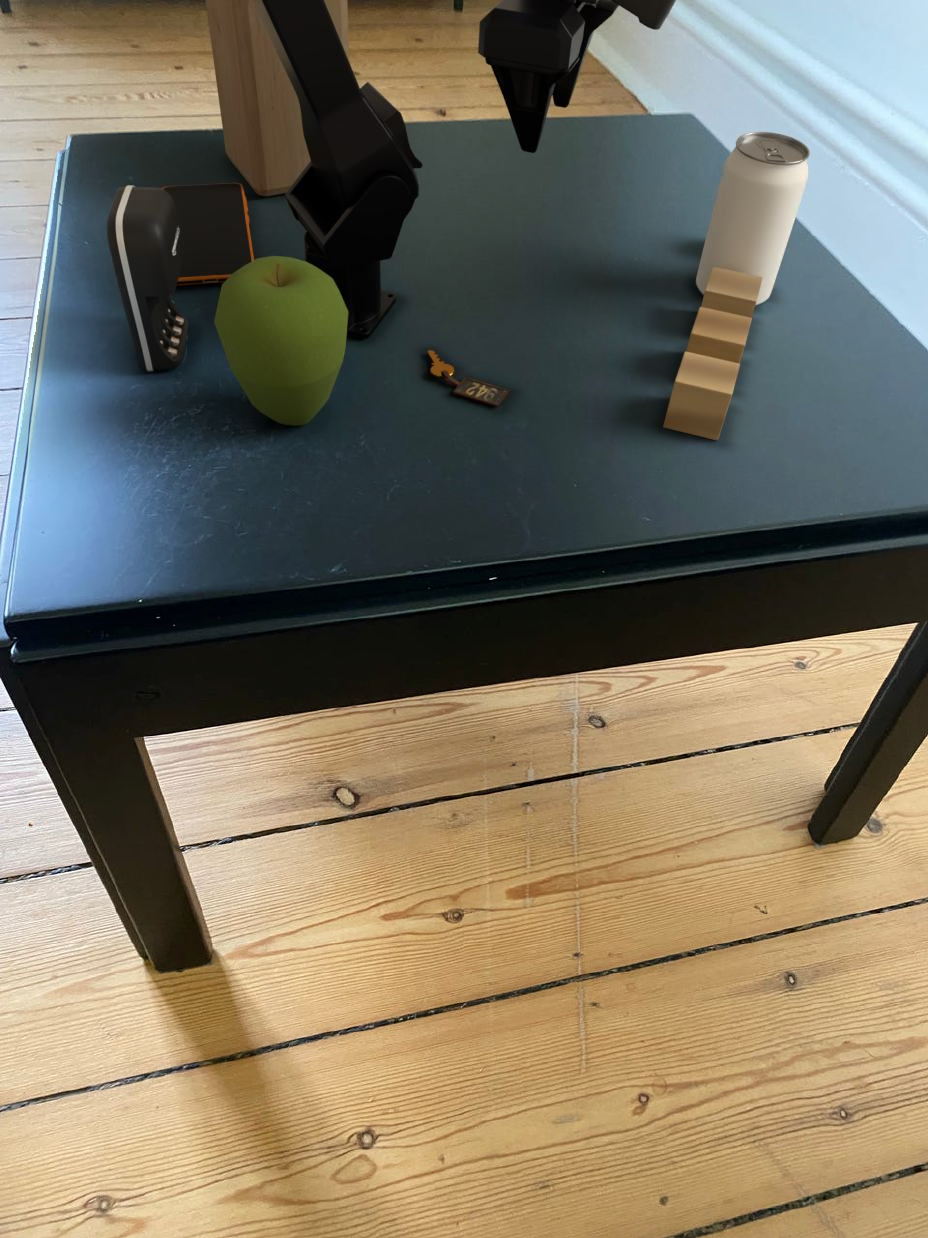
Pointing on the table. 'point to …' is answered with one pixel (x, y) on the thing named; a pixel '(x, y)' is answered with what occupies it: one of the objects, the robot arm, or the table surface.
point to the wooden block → (260, 95)
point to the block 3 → (701, 395)
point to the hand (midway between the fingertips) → (545, 127)
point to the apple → (283, 335)
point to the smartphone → (212, 231)
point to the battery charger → (149, 273)
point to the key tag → (467, 384)
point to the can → (755, 208)
